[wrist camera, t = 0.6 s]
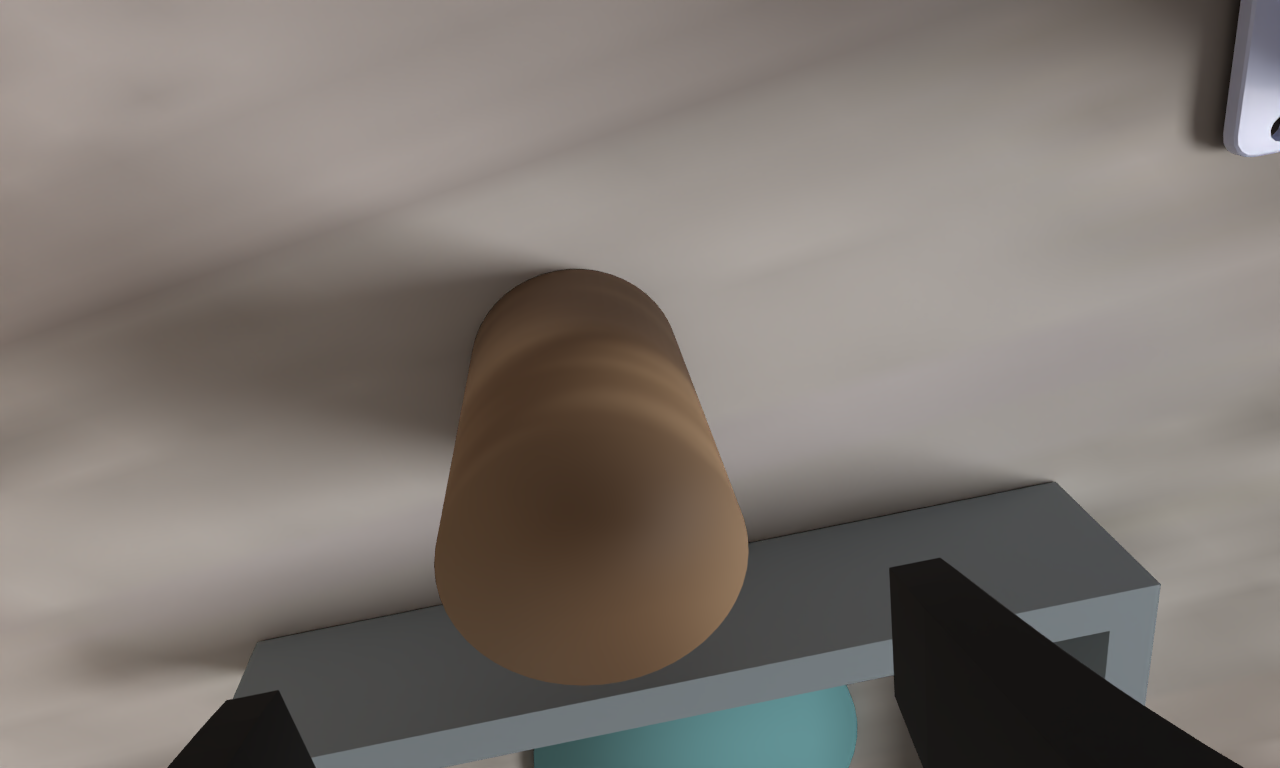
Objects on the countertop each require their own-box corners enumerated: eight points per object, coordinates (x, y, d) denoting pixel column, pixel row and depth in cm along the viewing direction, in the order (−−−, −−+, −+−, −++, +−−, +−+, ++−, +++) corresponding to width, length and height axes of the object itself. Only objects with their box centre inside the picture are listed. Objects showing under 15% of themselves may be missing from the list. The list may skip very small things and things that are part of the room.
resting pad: (844, 588, 22) (847, 595, 22) (861, 819, 26) (864, 828, 26) (499, 657, 22) (498, 666, 21) (569, 880, 26) (570, 889, 25)
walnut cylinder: (662, 250, 18) (729, 399, 11) (691, 437, 20) (763, 652, 13) (447, 292, 18) (394, 464, 11) (499, 475, 19) (478, 710, 13)
